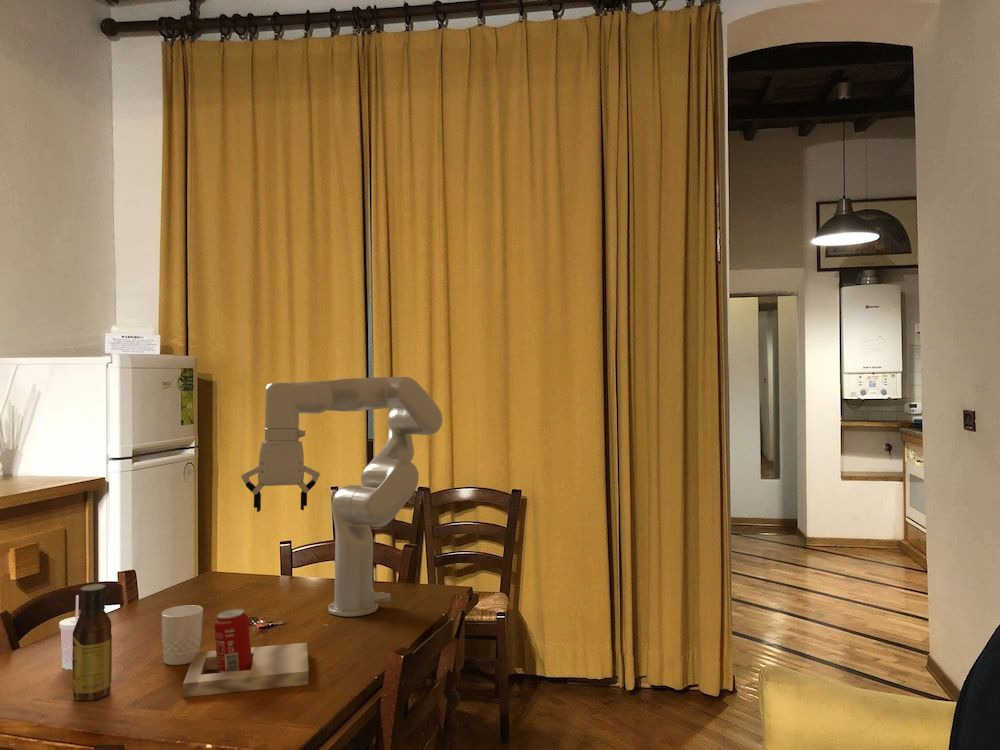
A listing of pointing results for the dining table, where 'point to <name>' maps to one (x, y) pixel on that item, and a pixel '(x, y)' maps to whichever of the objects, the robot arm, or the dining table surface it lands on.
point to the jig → (249, 671)
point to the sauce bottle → (92, 646)
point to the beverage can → (232, 641)
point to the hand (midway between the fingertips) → (280, 510)
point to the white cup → (181, 633)
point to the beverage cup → (68, 637)
